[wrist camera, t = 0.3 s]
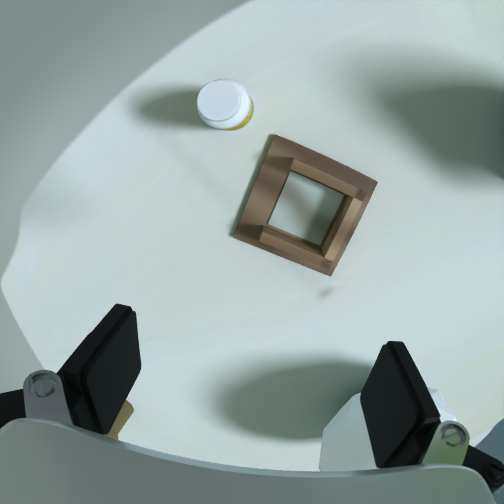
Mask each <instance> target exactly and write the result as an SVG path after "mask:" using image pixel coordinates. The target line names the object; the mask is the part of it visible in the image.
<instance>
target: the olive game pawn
mask: <svg viewBox="0 0 504 504" xmlns="http://www.w3.org/2000/svg"><path fill="white" fill-rule="evenodd" d="M133 411H134V409H133V406H132V405H131V404H130V403H129V402H128V401H127V400H125V402H124V404H123V406H122V408H121V410H120V412H119V414H118V416H117V418H116V420H115V422H114V424H113V426H112V428H111V430H110V432H109V433H108V434H107V435H105V434H104V436H107V437H110V438H113V439H117V440H118V433H119V432H120V430H121V429H122V427H123V426H124V425H125V423H126V422H127V420H128V419H129V417H130V416H131V414H132V413H133Z"/></svg>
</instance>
